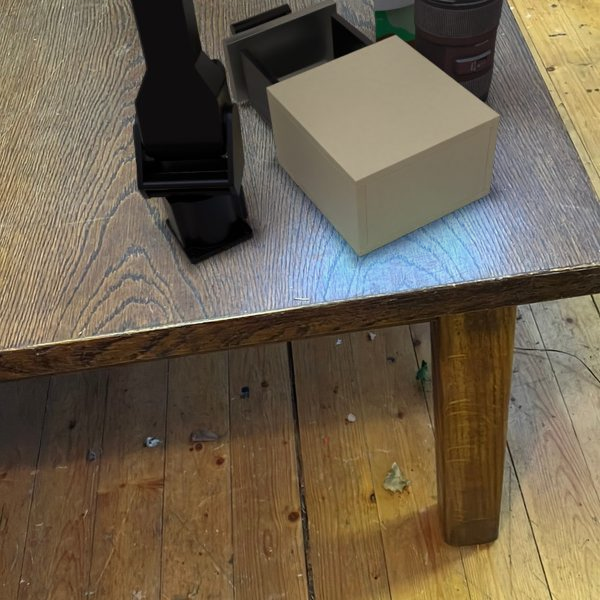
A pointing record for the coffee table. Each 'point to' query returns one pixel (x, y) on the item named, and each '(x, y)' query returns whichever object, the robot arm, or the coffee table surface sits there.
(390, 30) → the food container
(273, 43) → the dark open box
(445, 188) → the tan cardboard box
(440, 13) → the camera lens
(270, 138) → the coffee table surface
